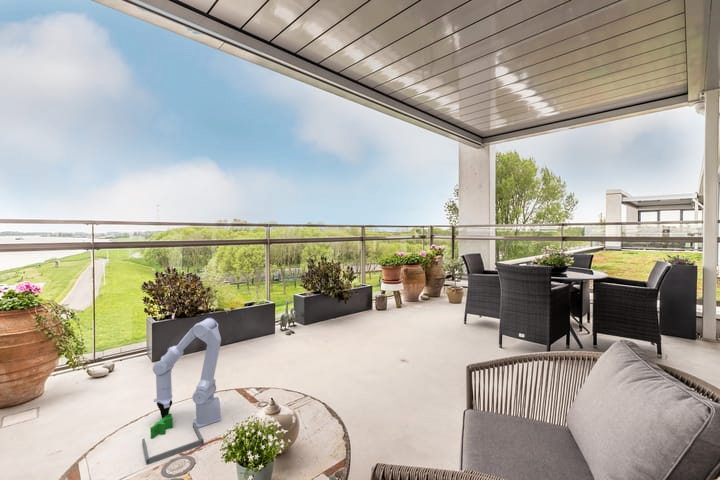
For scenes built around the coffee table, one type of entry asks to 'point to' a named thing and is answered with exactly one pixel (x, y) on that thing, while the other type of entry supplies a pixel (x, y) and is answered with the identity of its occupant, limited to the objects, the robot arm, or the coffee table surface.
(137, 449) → the coffee table surface
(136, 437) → the coffee table surface
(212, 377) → the robot arm
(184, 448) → the grey u-shaped frame
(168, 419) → the green stepped block
